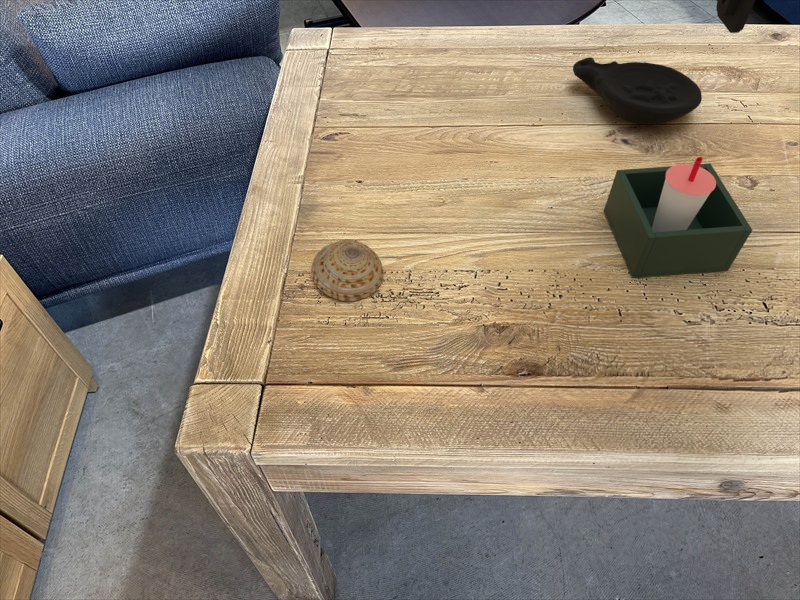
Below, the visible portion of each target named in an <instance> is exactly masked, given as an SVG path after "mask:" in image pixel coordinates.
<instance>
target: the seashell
mask: <svg viewBox="0 0 800 600" xmlns="http://www.w3.org/2000/svg"><path fill="white" fill-rule="evenodd" d="M310 272H311V277H312V280H313V283H314V284H315V286H316V287H317V288H318V289H319V290H320V291H321V292H322V293H323V294H325V295H326V296H328V297H330V298H331V299H333V300H334V299H335V300H337V301H342V302H357V301H361V300H364V299H366V298H368V297H370V296H372V295H373V294H374V293H376V291H377V290H378V289H379V288H380V286H381V284H382V282H383V279H384V267H383V263H382V260H381V259H380V257H379V255H378V253H376V252H375V251H374V250H373V249H372V248H371V247H369V246H368V245H367V244H365V243H363V242H361V241H358V240H355V239H350V238H349V239H348V238H347V239H342V240H337V241H335V242H333V243H329V244H328V245H325V246H323V247H322V248H321V249H320V250H319V251H318V252H317V253H316V255H315V256H314V258H313V260H312V262H311V268H310Z"/></svg>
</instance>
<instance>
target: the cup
mask: <svg viewBox="0 0 800 600" xmlns="http://www.w3.org/2000/svg"><path fill="white" fill-rule="evenodd" d="M703 160H704V159H703V157H702V156H698V157H696V158H695V160H694V164H690V163H678V164H674V165H671V166H672V167H670V168H669V169H668V170H667V172H666V179H665V182H664V186H663V190H662V193H661V197H660V200H659V204H658V207H657V211H656V215H655V218H654V222H653V226H652V230H653V232H666V231H679V230H687V228H688V227H689V225H690V223H691V222H692V220H693V219H694V217H695V216H696V214H697V213H698V211H699V210H700V208H701V207H702V205H703V204H704V202H705V201H706V199H707V197H708V196H709V194H710V193H711V192H712V191H713V190H714V189H715V187H716V180H715V178H714V177H713V175H712V174H711V173H710V172H708V171H707V170H705V169H703V168H701V167H700V164H702V162H703Z"/></svg>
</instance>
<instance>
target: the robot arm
mask: <svg viewBox="0 0 800 600" xmlns="http://www.w3.org/2000/svg"><path fill="white" fill-rule="evenodd" d="M755 2H756V0H717V2H716V14H717V15H716V16H717V17H718V19H719V20H720V21H721V23H722V24H723V25H724V27H725V28H726V29H727V31H728V32H729V33H730V34H738V33H740V32H741V31H743V30H744V29H745V25H746V23H747V21H748V18H749V17H750V14H751V11H752V9H753V7H754V4H755Z"/></svg>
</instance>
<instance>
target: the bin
mask: <svg viewBox="0 0 800 600" xmlns="http://www.w3.org/2000/svg"><path fill="white" fill-rule="evenodd" d="M672 166H673V165H669V166H667V165H666V166H655V167H639V168H627V169H617V170H616V172H615V174H614V178H613V181H612V185H611V188H610V190H609V193H608V196H607V199H606V203H605V205H604V209H603V213H604V215H605V218H606V220H607V223H608V225H609V228H610V230H611V232H612V235H613V236H614V239H615V242H616V243H617V246H618V248H619V251H620V254H621V256H622V258H623V260H624V262H625V265H626V267H627V270H628V272H629V275H630V276H631V278H632V279H640V278H651V277H664V276H676V275H677V276H679V275H690V274H704V273H717V272H727V271H729V270H730V268H731V266H732V265H733V264H734V263H735V260H736V258H737V257H738V255H739V254H740V252H741V250H742V249H743V247H744V245H745V243H746V242H747V240H748V238H749V237H750V235H751V234H752V232H753V229H752V227H751V225H750V224H749V222H748V220H747V218H746V217H745V215H744V214H743V213H742V210H741V209H740V208H739V206H738V205H737V203H736V201H735V200H734V198H733V197H732V195H731V193H730V192H729V190H728V189H727V187H726V186H725V184H724V182H723V181H722V179H721V178H720V176H719V175H718V173H717V171H716V170H715V168H714V167H713V165H712V164H711V162H710V163H701V164H700V167H701V168H703V169H705V170H707V171H708V172H710V173H711V174H712V175H713V177H714V178H715V180H716V187H715V189H714V190H713V191H712V192H711V193H710V194H709V196H708V197H707V199H706V201H705V202H704V204H703V205H702V207H701V208H700V210H699V211H698V213H697V214H696V216H695V217H694V219H693V220H692V222H691V223H690V225H689V227H688V228H687V230H679V231H666V232H653V230H652V226H653V222H654V218H655V215H656V211H657V207H658V204H659V200H660V197H661V193H662V190H663V186H664V182H665V179H666V172H667V170H668V169H669V168H670V167H672Z"/></svg>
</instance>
